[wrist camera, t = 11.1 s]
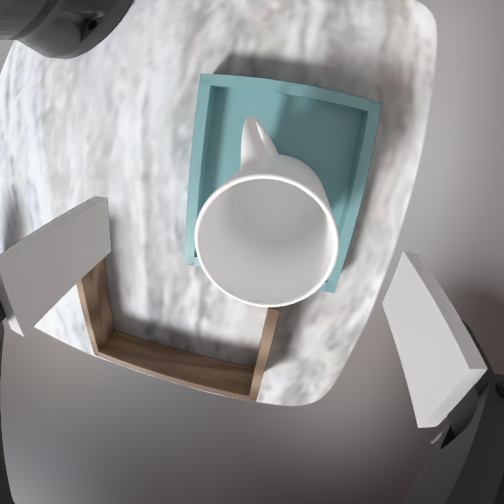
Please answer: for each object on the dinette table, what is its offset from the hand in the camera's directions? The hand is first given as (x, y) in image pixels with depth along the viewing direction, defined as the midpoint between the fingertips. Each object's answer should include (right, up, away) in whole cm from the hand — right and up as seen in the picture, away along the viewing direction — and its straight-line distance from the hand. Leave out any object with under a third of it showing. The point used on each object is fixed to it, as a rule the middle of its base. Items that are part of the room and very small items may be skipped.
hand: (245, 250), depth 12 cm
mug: (+2, +6, +14) cm, 16 cm away
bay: (-9, -8, +23) cm, 26 cm away
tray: (+3, +6, +14) cm, 16 cm away
